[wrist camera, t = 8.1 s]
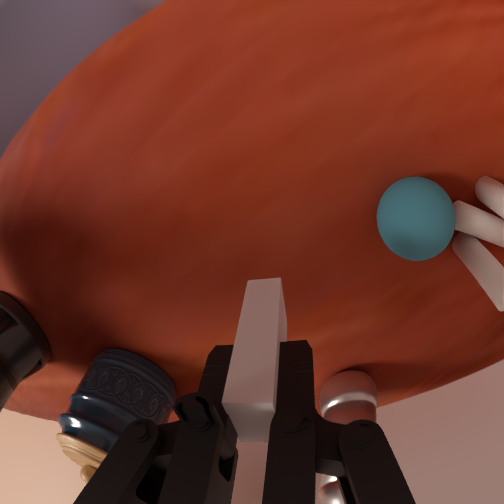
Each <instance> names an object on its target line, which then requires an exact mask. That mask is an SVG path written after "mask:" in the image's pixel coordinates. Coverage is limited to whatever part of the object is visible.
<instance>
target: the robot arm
mask: <svg viewBox="0 0 504 504" xmlns="http://www.w3.org/2000/svg"><path fill="white" fill-rule="evenodd" d="M50 357H51V351H50V347H49V344H48V342H47V339H46V338H45V336H44V334H43V332H42V331H41V329H40V328H39V326H38V325H37V323H36V322H35V321H34V320H33V318H32V317H31V316H30V315H29V314H28V312H27V311H26V310H25V309H24V308H23V307H22V306H21V305H20V304H19V303H18V302H16V301H15V300H14V299H13V298H11V297H10V296H8V295H7V294H5V293H3V292H0V412H1V410H2V409H3V407H4V405H5V404H6V402H7V401H8V399H9V398H10V396H11V395H12V393H13V392H14V390H15V389H16V387H17V386H18V384H19V383H20V382H22V381H23V380H25V379H26V378H28V377H29V376H31V375H32V374H34V373H36V372H37V371H39V370H40V369H42V368H43V367H44V366H45V364H46V363H47V362H48V360H49V359H50ZM172 408H173V410H174V411H175V413H176V414H177V416H178V417H179V419H180V420H179V421H175V422H171V423H165V424H160V425H156V423H154V422H153V421H152V420H150V419H145V418H142V419H137V420H135V421H133V422H131V423H130V424H129V425H128V426H127V427H126V428H125V430H124V431H123V433H122V434H121V435H120V437H119V438H118V440H117V441H116V443H115V444H114V446H113V447H112V448H111V450H110V451H109V453H108V454H107V456H106V457H105V458H104V460H103V461H102V463H101V464H100V466H99V467H98V468H97V470H96V471H95V473H94V474H93V476H92V477H91V479H90V480H89V481H88V483H87V484H86V486H85V487H84V489H83V490H82V492H81V493H80V494H79V496H78V497H77V499H76V500H75V502H74V503H73V504H231V499H232V492H233V486H234V480H235V474H236V467H237V460H238V450H237V448H236V442H237V436H238V438H239V440H240V442H268V453H267V462H266V473H265V481H264V490H263V499H262V504H315V483H316V482H315V481H316V480H315V479H316V472H317V473H321V474H325V475H330V476H334V477H336V479H337V482H338V485H339V488H340V491H341V494H342V497H343V500H344V503H345V504H416V503H415V501H414V498H413V496H412V494H411V492H410V489H409V487H408V485H407V482H406V480H405V478H404V476H403V473H402V471H401V469H400V467H399V465H398V462H397V460H396V458H395V456H394V454H393V451H392V449H391V447H390V445H389V443H388V441H387V439H386V436H385V435H384V432H383V430H382V429H381V428H380V426H379V425H378V424H377V423H375V422H373V421H371V420H365V419H360V420H354V421H352V422H350V423H348V424H347V425H345V424H340V423H334V422H331V421H327V420H326V419H324V418H322V417H321V416H320V415H319V414H318V412H317V410H316V409H315V396H314V371H313V354H312V348H311V347H310V345H309V344H308V342H307V340H299V341H287V318H286V311H285V304H284V297H283V290H282V283H281V278H270V279H259V280H248V282H247V286H246V291H245V296H244V300H243V305H242V310H241V314H240V319H239V324H238V328H237V333H236V338H235V343H234V345H216V346H215V347H214V349H213V350H212V351H211V352H210V353H209V355H208V358H207V361H206V365H205V368H204V372H203V376H202V379H201V382H200V385H199V389H198V392H197V393H189V394H187V395H184V396H182V397H181V398H179V399H178V400H177V401H176V402H175V404H174V405H173V407H172Z"/></svg>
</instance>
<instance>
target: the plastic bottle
mask: <svg viewBox="0 0 504 504" xmlns="http://www.w3.org/2000/svg"><path fill="white" fill-rule="evenodd" d="M319 403H320V409H321V413H322V417H323V418H324V419H326V420H327V421H331V422H334V423H340V424H345V425H347V424H348V423H350V422H352V421H354V420H360V419H365V420H371V421H373V422H375V423H377V422H376V408H377V388H376V386H375V383H374V381H373V379H372V378H371V377H370V376H369V375H368V374H366V373H364V372H362V371H358V370H348V371H343V372H340V373H337V374H335V375H333V376H332V377H330V378H329V379H328V380H327V381H326V382H325V384H324V385H323V387H322V389H321V393H320V399H319ZM318 501H319V504H345V503H344V500H343V497H342V494H341V491H340V488H339V485H338V482H337V479H336V477H334V476H330V475H325V474H322V478H321V483H320V489H319V495H318Z"/></svg>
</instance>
